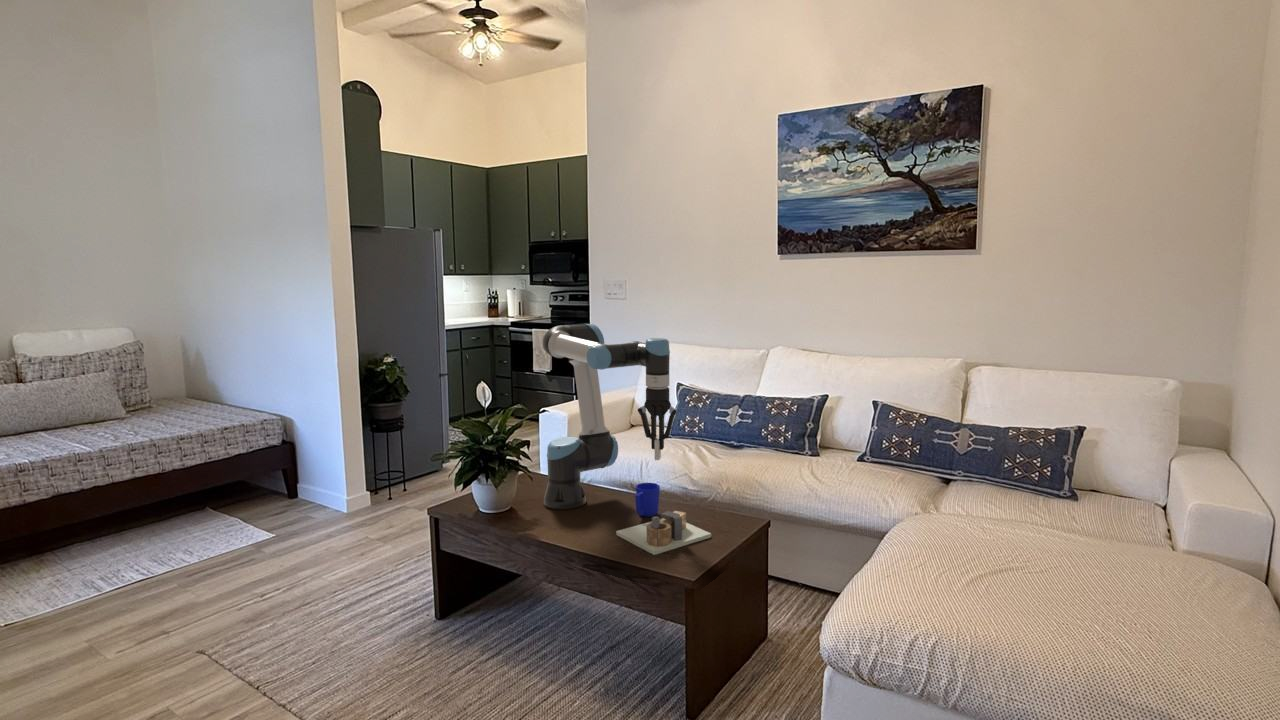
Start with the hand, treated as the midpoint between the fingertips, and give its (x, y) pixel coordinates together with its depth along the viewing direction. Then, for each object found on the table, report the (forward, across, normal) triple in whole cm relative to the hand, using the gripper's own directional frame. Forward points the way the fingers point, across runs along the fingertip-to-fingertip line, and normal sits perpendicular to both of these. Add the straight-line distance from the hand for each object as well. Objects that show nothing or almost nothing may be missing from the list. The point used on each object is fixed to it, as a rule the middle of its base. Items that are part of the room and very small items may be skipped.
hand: (657, 458), depth 224 cm
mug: (+23, -6, +9) cm, 26 cm away
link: (+22, +5, -10) cm, 24 cm away
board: (+23, +3, -7) cm, 24 cm away
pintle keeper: (+23, +5, -12) cm, 26 cm away
